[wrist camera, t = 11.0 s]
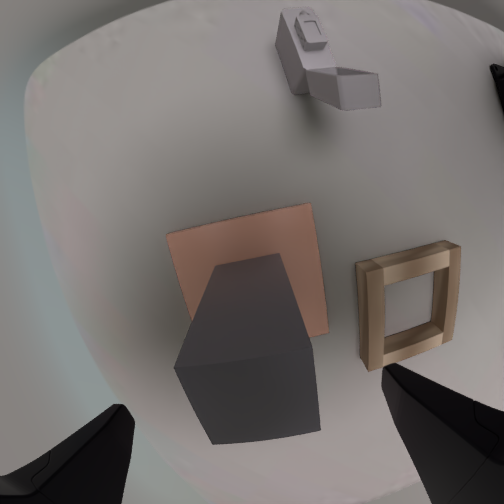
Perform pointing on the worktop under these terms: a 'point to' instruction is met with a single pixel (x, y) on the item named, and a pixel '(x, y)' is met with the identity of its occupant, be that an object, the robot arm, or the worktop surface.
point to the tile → (251, 246)
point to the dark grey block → (250, 356)
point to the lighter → (320, 64)
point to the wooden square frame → (395, 270)
